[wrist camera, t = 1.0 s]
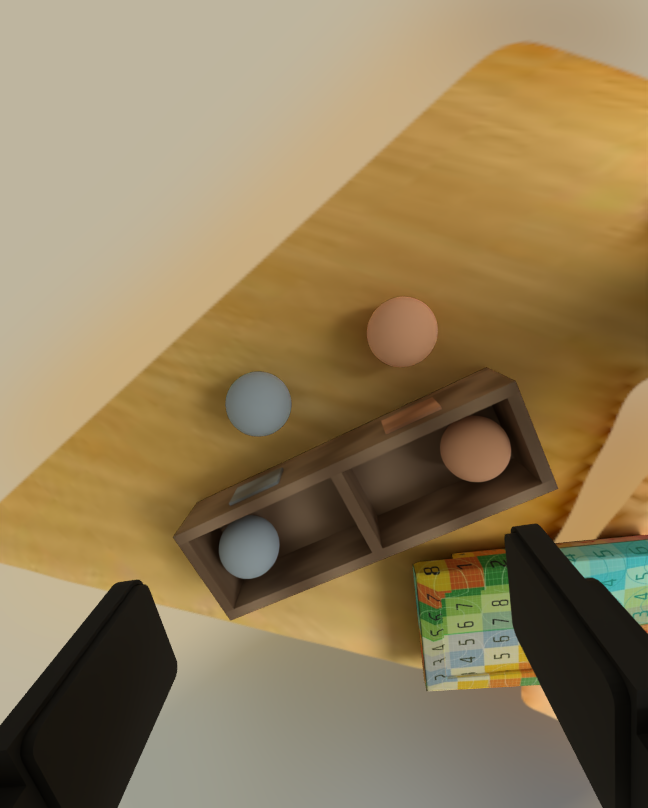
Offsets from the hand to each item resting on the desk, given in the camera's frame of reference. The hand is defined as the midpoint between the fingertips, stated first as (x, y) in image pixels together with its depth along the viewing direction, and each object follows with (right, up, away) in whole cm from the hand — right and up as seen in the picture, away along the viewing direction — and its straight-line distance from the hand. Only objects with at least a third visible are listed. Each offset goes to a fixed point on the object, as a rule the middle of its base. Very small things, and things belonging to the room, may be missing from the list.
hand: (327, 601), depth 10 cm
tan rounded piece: (+11, +3, +19) cm, 22 cm away
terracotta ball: (+5, +10, +18) cm, 21 cm away
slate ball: (-5, +6, +19) cm, 21 cm away
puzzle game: (+18, -11, +24) cm, 32 cm away
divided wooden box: (+2, -1, +21) cm, 21 cm away
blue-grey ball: (-6, -5, +22) cm, 23 cm away
